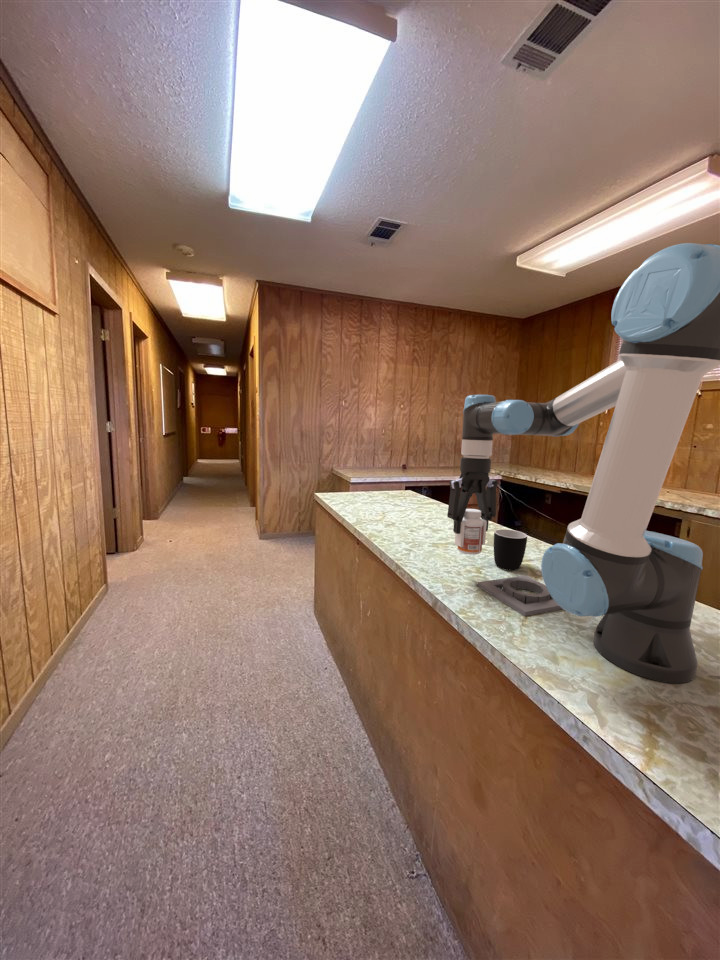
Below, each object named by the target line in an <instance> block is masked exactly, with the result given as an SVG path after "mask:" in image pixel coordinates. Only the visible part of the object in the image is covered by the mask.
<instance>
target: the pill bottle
mask: <svg viewBox="0 0 720 960" xmlns="http://www.w3.org/2000/svg"><path fill="white" fill-rule="evenodd" d="M480 518H481V511H480V510H479V509H476V508H466V511H465V514H464V517H463V520H462V521H463V522H465V528H464V543H463V547H460V546H458V545H457V551H459V553H462V554H465V555H471V556H473V555H474V556H475V555H479V554H481V553H482V551H483V545H482V538H483V521H482V520H481V519H482V518H481V519H480Z"/></svg>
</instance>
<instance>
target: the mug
mask: <svg viewBox="0 0 720 960" xmlns="http://www.w3.org/2000/svg"><path fill="white" fill-rule="evenodd" d="M527 542H528V535H527V533H524V532H522V531H519V530H514V529H507V528H503V529H502V528H499V529H496V530H494V534H493V559H494V563H495V566H497V568H500V569H501V570H505V571H518V570H519V569H520V568H521V566H522V563H523V561H524V557H525V554H526V548H527Z"/></svg>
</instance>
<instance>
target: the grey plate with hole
mask: <svg viewBox="0 0 720 960" xmlns="http://www.w3.org/2000/svg"><path fill="white" fill-rule="evenodd" d="M477 586H478V587H479V588H480V589H481V590H483V591H485V592H487V594H490V595H491V596H492V597H495V599H497V600H499V601H500V602H502V603H503V604H505V605H506V606H508V607H510V608H511V609H512V610H514V611H516V612H517V613H519V614H521V615H522V616H524V617H527V616H533V615H537V614H544V613H548V612H554V611H559V610H564V609H563V608H561V607H560V606H559V605H558V604H557V603H556V602H555V601H554V599H553V598H552V597H551V595H550V594H549V592H548V590H547V587H546V585H545V583H542V582H541V581H538V580H536V579H534V578H532V577H530V576H529V575H526V574H525V575H519V576H512V577H511V576H510V577H503V578H499V579H498V578H497V579H491V580H490V579H489V580H483V581H478V582H477ZM517 589H521V590H527V591H530V592H532V593H526V592H524V591H520V590H517ZM533 592H534V593H533Z"/></svg>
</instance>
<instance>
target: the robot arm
mask: <svg viewBox="0 0 720 960" xmlns="http://www.w3.org/2000/svg"><path fill="white" fill-rule="evenodd" d="M610 314H611V316H610V317H611V324H612V326H614V329H613V330H614V332H615V333H616V334H617V335H618V336H619V337H620V339H621V340H622V343H621V345H620V349H619V351H618V352H619V353H618V356H617V357H618V358H619V360H616V361H615V362H614V363H612V364H610V365H609V366H607V367H605V368H604V369H602V370H600V371H599V372H597V373H595V374H594V375H592V376H590V377H588V378H587V379H586V380H584V381H582V382H581V383H578V384H577V385H575V386H573V387H572V388H570V389H569V390H568V389H567V391H565V392H564V393H561V394H560V395H558V396H557V397H554V398H553V399H552V400H549V401H547V402H529V401H525V400H523V399H506V400H502V401H500V400H499V401H496V396H494V395H492V394H491V395H490V394H471V395H467V396H466V397H465V399H464V405H463V406H464V408H463V410H462V412H463V413H462V414H463V415H462V433H461V436H462V437H461V438H462V439H461V451H460V453H461V455H462V456H463V457H461V458H460V462H459V463H460V465H459V466H460V467H459V470H460V476H459V477H458V478H457V479H455V480H454V479H450V480H449V487H450V488H449V489H450V491H449V492H450V493H449V499H448V507H447V514H446V515H447V518H449V519H451V520H453V529H452V530H453V533H455V534H454V545H456V546H457V547H458V546H460V547H463V543H464V528H465V522H463V521H462V520H463V517H464V514H465V511H466V509H468V505H469V503H470V499H471V498H472V496H473V494H474V495H475V496H476V500H477V507H478V510H480V511H481V517H480V519H481V520H482V521H483V538H482V546H483V545H485V546H486V536H487V535H486V534H487V532H488V530H489V521H490V522H491V521H492V520H493V518H495V517H496V516H497V515H496V514H497V513H496V512H497V489H498V484H499V480H496V479H491V478H490V477H489V474H490V473H491V469H492V468H491V465H492V459H491V458H490V457H492V455H493V443H494V442H493V441H494V434H495V435H504V436H505V435H506V436H516V435H517V436H545V437H553V438H554V437H555V438H558V437H561V436H562V437H564V436H565V437H566V436H569V435H571V434H573V433H574V432H575V430H576V429H577V428H578V427H579V425H580V424H581V423H582V422H585V421H587V420H589V419H591V418H593V417H595V416H597V415H599V414H603V413H604V412H606V411H608V410H610V409H612V408H614V410H613V414H612V416H611V419H610V423H609V426H608V430H607V432H606V435H605V440H604V443H603V446H602V450H601V453H600V456H599V459H598V462H597V466H596V469H595V471H594V472H595V473H594V476H593V478H592V479H593V480H592V482H591V485H590V489H589V492H588V495H587V497H586V498H587V499H586V501H585V505H584V508H583V511H582V514H581V518H579V519H577V520H574V521H572V522H570V523H568V525H567V528H566V533H565V535H564V538H563V542H562V543H559V542H558V543H555V544H553V545H552V546H549V547H548V548H547V549H546V550H545V551H544V553H543V555H542V558H541V564H540V565H541V568H540V569H541V577H542V579H543V584H544V585H546V587H547V590H548V592H549V594H550V595H551V597H552V598H553V599H554V601H555V602H556V603H557V604H558V605H559V606H560V607H561V608H563V609H562V610H563V611H565V612H567V613H569V614H572V615H575V616H578V617H601V616H602V617H601V619H600V621H599V623H598V624H597V625H596V627H595V629H594V634H593V641H592V642H593V645H594V647H595V649H596V650H597V652H598V653H599V654H600V655H601V656H602V657H603V658H605V659H607V661H609V662H611V663H612V664H614V665H615V666H617V667H619V668H621V669H623V670H625V671H627V672H629V673H632V674H634V675H636V676H640V677H641V678H642V677H643V678H646V679H649V680H654V681H657V682H663V683H670V684H683V683H688V682H691V681H692V680H694V679H695V677H696V673H697V668H698V660H697V655H696V650H695V646H694V642H693V638H692V634H691V623H692V618H693V614H694V609H695V603H696V600H697V594H698V590H699V589H698V588H699V583H700V579H701V573H702V571H703V568H704V567H703V556H704V552H703V550H702V548H701V547H700V546H699V545H697V544H696V543H694V542H691V541H689V540H686V539H681V538H679V537H675V536H672V535H668V534H664V533H659V532H656V531H649V530H647V528H648V525H649V523H650V520H651V517H652V515H653V512H654V510H655V507H656V504H657V501H658V499H659V496H660V493H661V491H662V488H663V485H664V482H665V479H666V477H667V473H668V471H669V470H670V469H669V468H670V466H671V463H672V460H673V457H674V456H675V453H676V450H677V447H678V444H679V443H680V442H679V441H680V440H681V437H682V433H683V431H684V428H685V425H686V423H687V421H688V417H689V414H690V413H691V409H692V407H693V404H694V401H695V398H696V396H697V393H698V390H699V387H700V384H701V382H702V379H703V378H704V376H706V375H707V374H708V373H710V372H711V371H713V370H714V369H716V368H718V367H720V244H715V243H706V244H702V243H695V242H684V243H683V242H682V243H677V244H674V245H670V246H667V247H665V248H663V249H661V250H659V251H657V252H656V253H654V254H652V255H650V256H649V257H648V258H646V259H645V260H644V261H643V262H642V263H641V264H640V266H639V267H638V268H635V269H634V270H633V271H632V272H631V273H630V274H629V276H628V277H627V278H626V279H625V280H624V282H623V283H622V285H621V287H620V288H619V290H618V292H617V294H616V295H615V298H614V300H613V304H612V309H611V313H610ZM552 598H551V599H552ZM553 599H552V600H553Z"/></svg>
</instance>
